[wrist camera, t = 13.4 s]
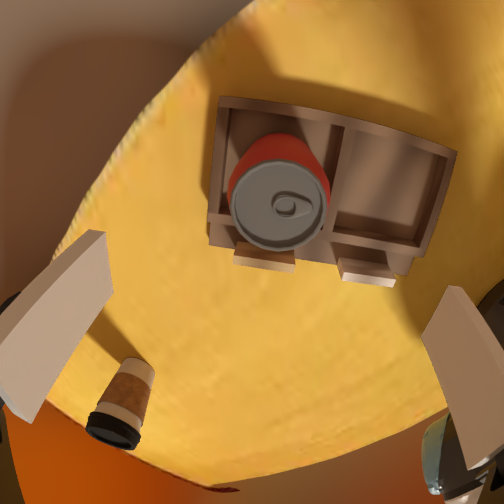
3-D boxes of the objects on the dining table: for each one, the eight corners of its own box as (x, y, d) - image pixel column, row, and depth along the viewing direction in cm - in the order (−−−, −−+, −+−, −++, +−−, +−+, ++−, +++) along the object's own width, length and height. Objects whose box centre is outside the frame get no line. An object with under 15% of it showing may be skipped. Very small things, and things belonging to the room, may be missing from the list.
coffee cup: (118, 344, 43) (81, 418, 30) (166, 365, 45) (138, 444, 31) (115, 370, 47) (85, 436, 34) (157, 389, 49) (134, 458, 35)
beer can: (313, 200, 29) (331, 261, 18) (245, 199, 29) (223, 258, 19) (315, 133, 25) (340, 152, 15) (243, 131, 26) (217, 150, 15)
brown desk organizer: (444, 146, 25) (463, 154, 22) (403, 271, 33) (415, 290, 29) (224, 96, 25) (216, 95, 22) (210, 240, 33) (202, 259, 29)
